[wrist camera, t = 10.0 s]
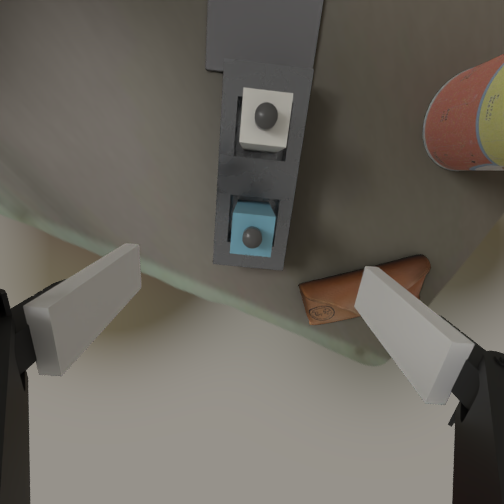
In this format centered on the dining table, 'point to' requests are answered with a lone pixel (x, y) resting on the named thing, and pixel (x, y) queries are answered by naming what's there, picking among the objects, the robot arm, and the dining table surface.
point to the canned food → (468, 120)
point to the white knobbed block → (265, 120)
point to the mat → (262, 32)
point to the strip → (258, 158)
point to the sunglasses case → (357, 289)
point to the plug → (252, 228)
